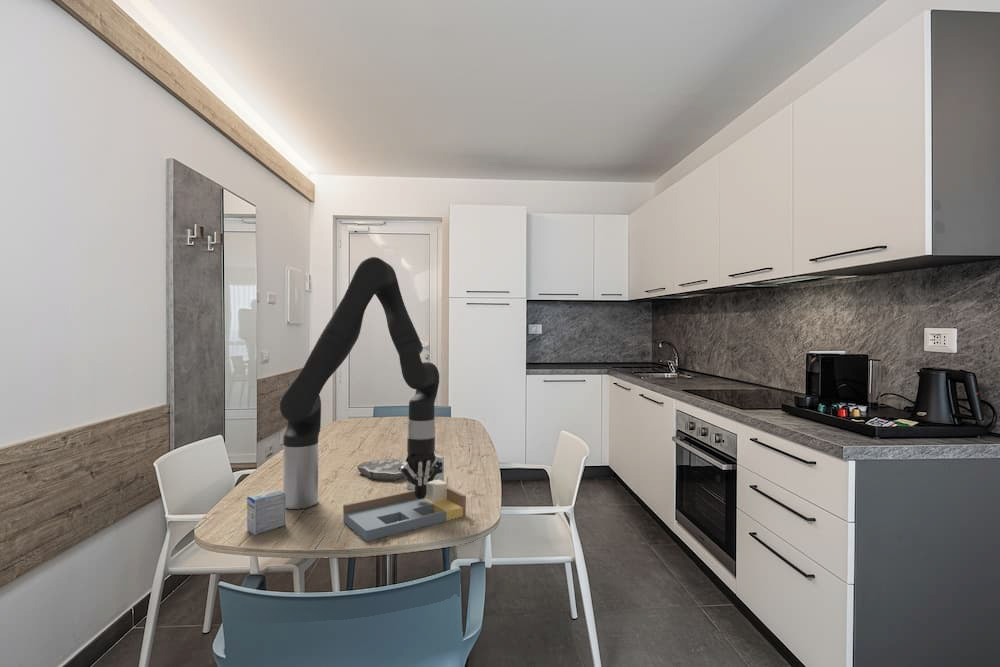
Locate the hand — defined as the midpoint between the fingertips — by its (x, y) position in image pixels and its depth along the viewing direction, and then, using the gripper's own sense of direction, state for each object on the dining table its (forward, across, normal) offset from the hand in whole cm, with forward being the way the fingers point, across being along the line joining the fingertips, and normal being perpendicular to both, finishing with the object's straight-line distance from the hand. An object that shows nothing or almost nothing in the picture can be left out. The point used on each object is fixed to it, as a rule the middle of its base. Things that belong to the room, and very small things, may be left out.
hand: (420, 497), depth 142 cm
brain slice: (+4, -8, -39) cm, 40 cm away
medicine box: (+4, +37, -12) cm, 39 cm away
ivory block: (+1, -5, 0) cm, 5 cm away
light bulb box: (+4, -10, -16) cm, 19 cm away
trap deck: (+4, +6, +3) cm, 7 cm away
